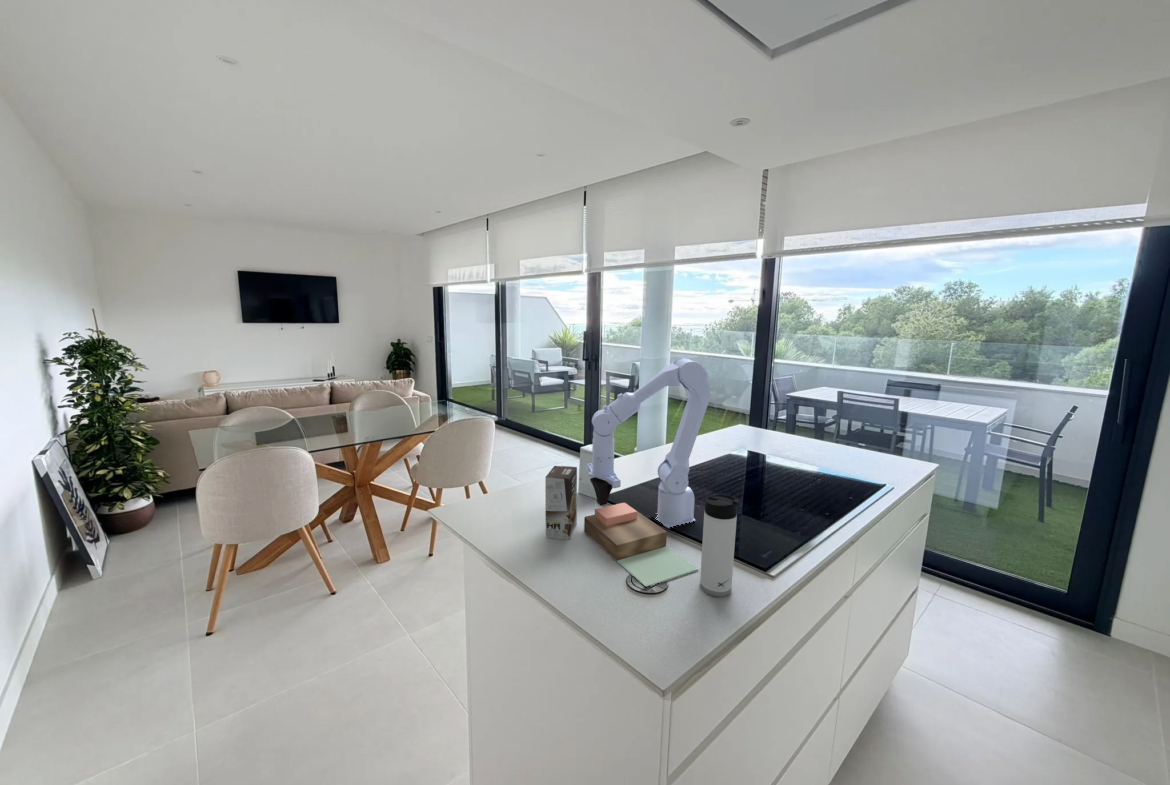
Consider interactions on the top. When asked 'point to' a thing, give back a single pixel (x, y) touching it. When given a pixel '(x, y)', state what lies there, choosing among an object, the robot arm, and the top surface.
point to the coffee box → (561, 502)
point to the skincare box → (585, 472)
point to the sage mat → (657, 566)
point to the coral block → (615, 514)
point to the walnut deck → (626, 536)
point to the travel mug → (718, 544)
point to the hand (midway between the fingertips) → (602, 504)
